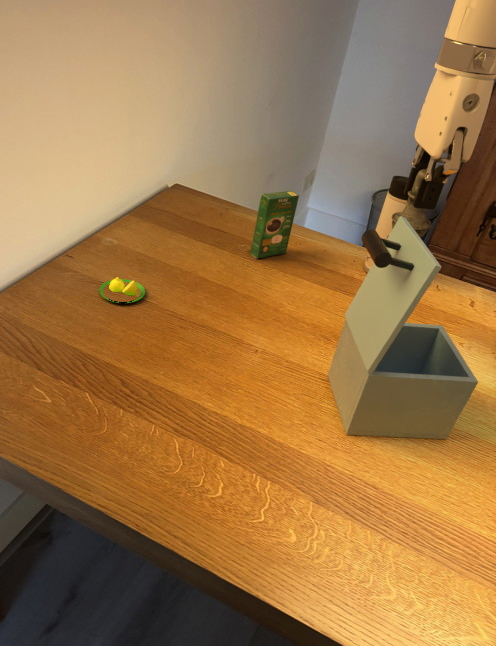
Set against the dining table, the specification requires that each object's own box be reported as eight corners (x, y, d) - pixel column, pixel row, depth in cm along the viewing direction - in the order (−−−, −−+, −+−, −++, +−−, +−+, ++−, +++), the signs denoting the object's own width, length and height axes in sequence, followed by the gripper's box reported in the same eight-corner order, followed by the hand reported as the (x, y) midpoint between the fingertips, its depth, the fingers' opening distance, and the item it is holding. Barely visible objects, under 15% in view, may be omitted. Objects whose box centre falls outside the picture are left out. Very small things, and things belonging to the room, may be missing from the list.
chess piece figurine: (381, 244, 82) (408, 164, 74) (387, 230, 86) (413, 153, 79) (421, 255, 81) (452, 174, 73) (424, 240, 85) (454, 162, 77)
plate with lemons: (150, 286, 100) (150, 273, 98) (137, 309, 94) (138, 295, 92) (107, 278, 100) (107, 265, 99) (92, 300, 94) (92, 286, 92)
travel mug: (358, 271, 114) (388, 176, 101) (369, 261, 118) (400, 169, 106) (386, 282, 111) (420, 187, 99) (397, 271, 116) (431, 178, 103)
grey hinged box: (416, 380, 87) (442, 325, 80) (446, 439, 77) (478, 381, 71) (327, 375, 86) (345, 318, 79) (345, 434, 76) (368, 375, 69)
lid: (405, 217, 69) (364, 204, 68) (442, 267, 59) (395, 253, 58) (349, 316, 79) (312, 306, 77) (372, 373, 69) (331, 363, 67)
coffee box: (279, 247, 118) (291, 188, 110) (287, 253, 116) (300, 194, 108) (249, 253, 114) (259, 193, 106) (257, 260, 113) (268, 198, 104)
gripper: (528, 77, 62) (464, 228, 73) (471, 50, 74) (424, 183, 86) (465, 70, 61) (410, 224, 73) (418, 44, 74) (378, 178, 85)
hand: (418, 200), depth 79 cm, fingers closed on chess piece figurine, 3 cm apart
